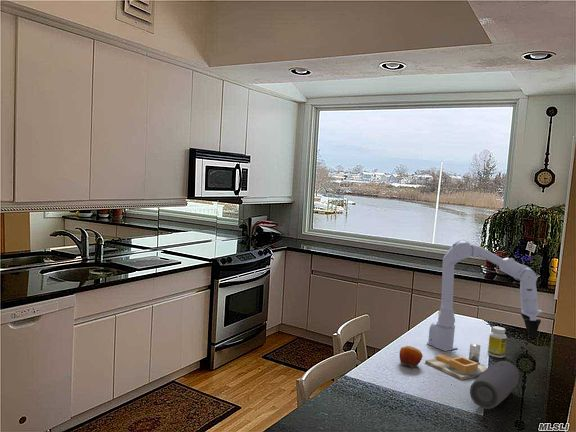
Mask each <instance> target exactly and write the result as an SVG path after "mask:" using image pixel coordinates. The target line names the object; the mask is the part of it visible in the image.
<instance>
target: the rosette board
mask: <svg viewBox="0 0 576 432" xmlns="http://www.w3.org/2000/svg"><path fill="white" fill-rule="evenodd" d="M446 356H448V357H451V358H453V359H454V358H458V357H461V356H459V355H457V354H455V353H454V354H447V355H446ZM424 363H425V364H427V365H428V366H430V367H432V368H436V369H437V370H440V371H442V372H443V373H446V374H448V375H450V376H452V377H454V378H457V379H459V380H461V381H464V380H469V379H471V378H475V377H479V376H480V375H481V374H482V373H483V372H484V371H485V370H486V369H487V368H488V367H487V366H486V367H485V366H484V365H481V364H479V363H478V369H477V370H475V371H471V372H468V373H464V372H461V371H459V370H457V369H455V368H453V367H450V366H449V364H448V363H445V362H442V361H440V360H438V359H436V357H435V358H430V359H426V360H425V362H424Z"/></svg>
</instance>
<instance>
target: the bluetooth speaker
mask: <svg viewBox="0 0 576 432" xmlns="http://www.w3.org/2000/svg"><path fill="white" fill-rule="evenodd" d="M486 368H487V369H486V370H485V371H484V372H483V373H482V374H481V375H479V376H477V377H476V378H475V380H474V381H473V383H471V386H470V388H469V394H470V398H471V400H472V402H473V403H474V404H475V405H476V406H478V407H480V408H482V409H485V410H492V409H494V408H495V407H497V406H498V405H500V404H501V403H502V402H503V401H504V400H505V399H506V398H508V397H509V396H510V395H511V393H512V391H513V390H514V389H515V387H516V386H517V385H518V382H519V379H520V373H519V370H518V368H517V367H516V366H515V365H514V364H513V363H511V362H510V361H508V360H499V361H496V362H495V363H493V364H492V365H490V366H489V367H486Z"/></svg>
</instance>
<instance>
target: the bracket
mask: <svg viewBox="0 0 576 432" xmlns="http://www.w3.org/2000/svg"><path fill="white" fill-rule="evenodd" d="M435 358H436V359H438V360H440V361H442V362H445V363H448V364H449V366H450V367H453V368H455V369H457V370H459V371H461V372H464V373H468V372H471V371H475V370H477V369H478V364H479V362H477V363H476V362H474V361H471V360H469V358H466V357H463V356H460V357H458V358H454V359H453V358H451V357H448V356H447V355H445V354H444V353H441V354H437V355H435Z"/></svg>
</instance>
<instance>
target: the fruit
mask: <svg viewBox="0 0 576 432" xmlns="http://www.w3.org/2000/svg"><path fill="white" fill-rule="evenodd" d="M423 357H424V355H423V354H422V351H421V350H420V349H418V348H416V347H414V346H411V345H406V346H402V347H400V350H399V362H400V364H401V365H402V366H407V367H408V366H409V367H410V368H411V369H412V370H413V368H414V367H417V366H419V364H420V363H421V361H422V360H423Z"/></svg>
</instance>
